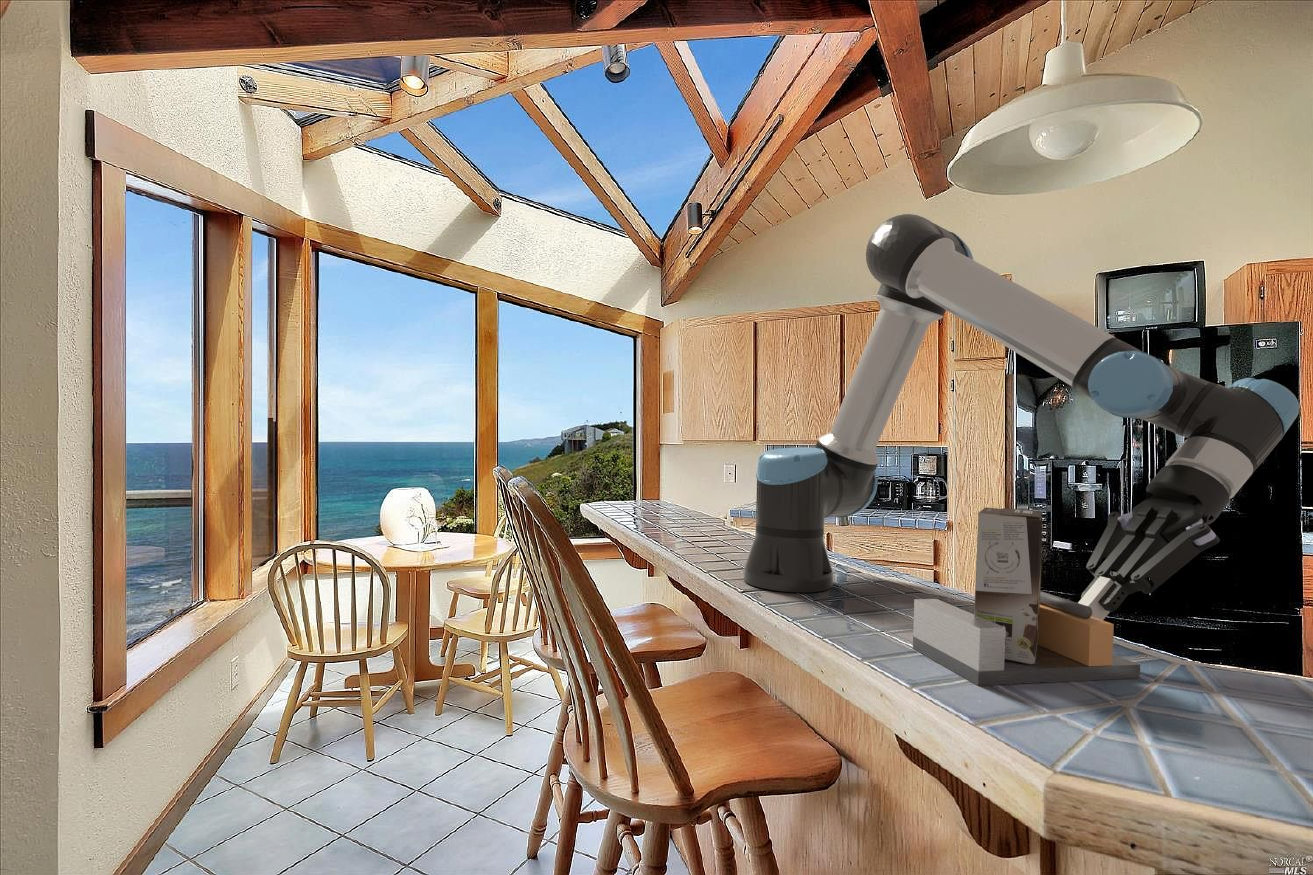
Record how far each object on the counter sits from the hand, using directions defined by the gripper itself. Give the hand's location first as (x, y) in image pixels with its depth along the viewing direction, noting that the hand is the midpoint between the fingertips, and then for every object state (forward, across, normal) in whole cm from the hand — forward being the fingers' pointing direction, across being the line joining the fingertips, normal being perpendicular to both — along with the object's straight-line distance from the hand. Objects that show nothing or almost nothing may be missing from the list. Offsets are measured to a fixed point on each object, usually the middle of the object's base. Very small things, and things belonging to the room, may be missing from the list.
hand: (1078, 625), depth 78 cm
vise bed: (+8, 0, +3) cm, 9 cm away
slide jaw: (+4, 0, 0) cm, 4 cm away
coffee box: (+9, 0, +5) cm, 10 cm away
